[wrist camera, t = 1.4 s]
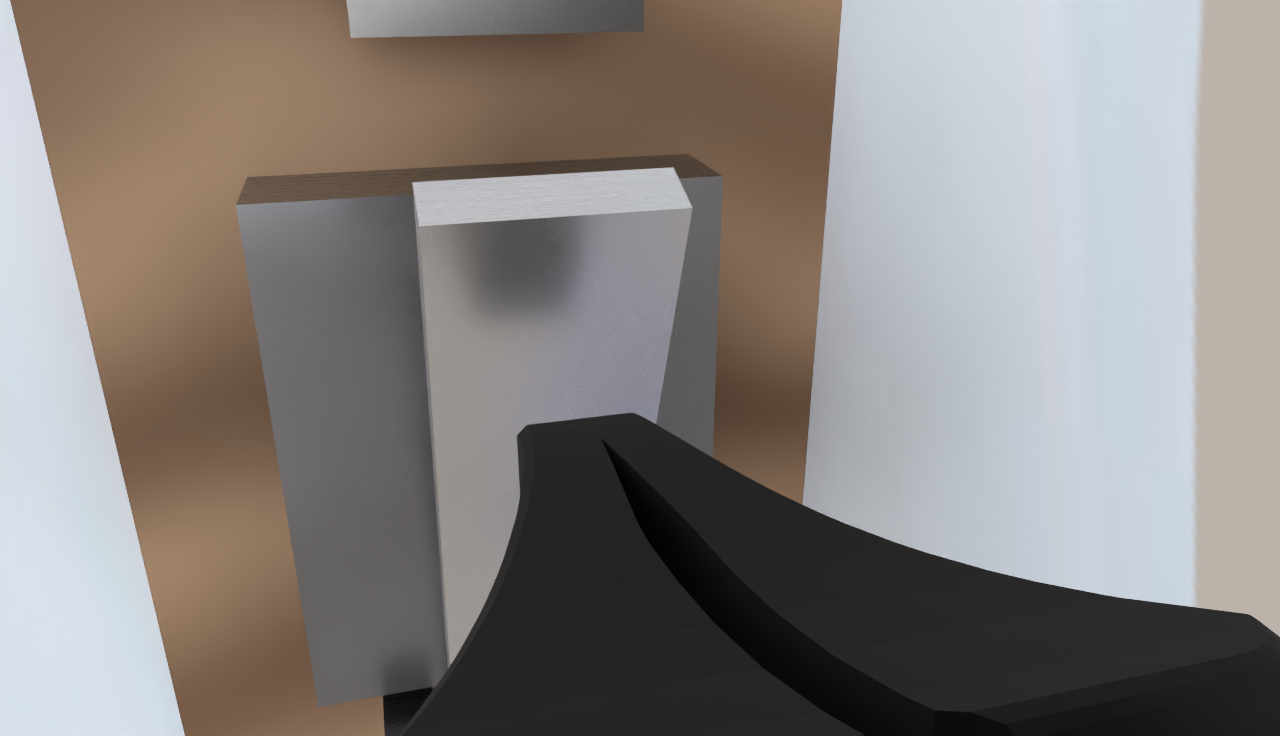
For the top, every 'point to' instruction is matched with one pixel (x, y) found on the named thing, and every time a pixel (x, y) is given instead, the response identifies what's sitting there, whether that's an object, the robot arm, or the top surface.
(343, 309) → the clamp block
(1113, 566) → the top surface
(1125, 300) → the top surface
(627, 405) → the grey flat bar
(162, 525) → the board
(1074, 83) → the top surface
